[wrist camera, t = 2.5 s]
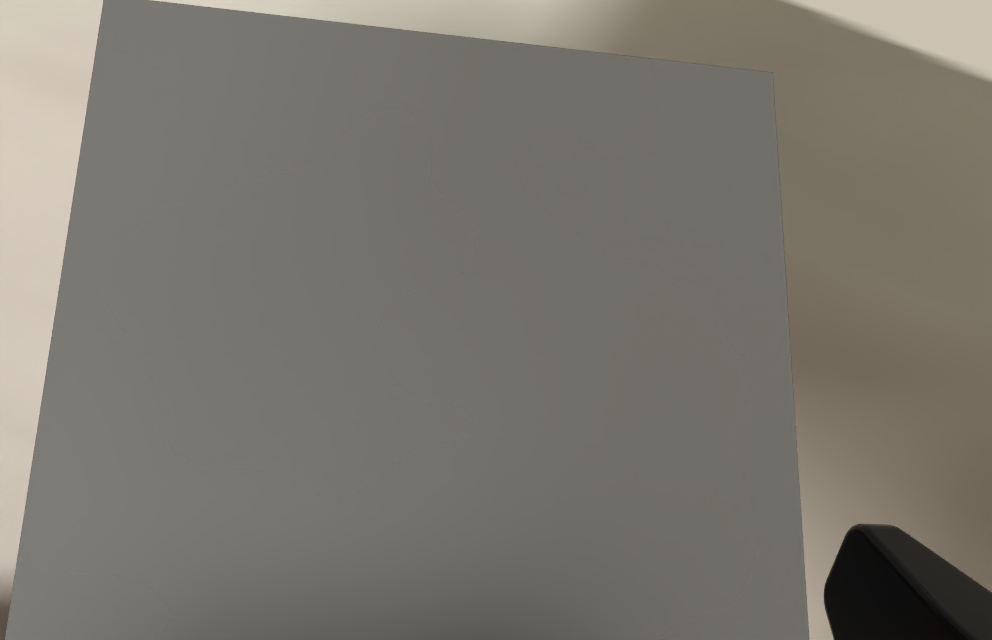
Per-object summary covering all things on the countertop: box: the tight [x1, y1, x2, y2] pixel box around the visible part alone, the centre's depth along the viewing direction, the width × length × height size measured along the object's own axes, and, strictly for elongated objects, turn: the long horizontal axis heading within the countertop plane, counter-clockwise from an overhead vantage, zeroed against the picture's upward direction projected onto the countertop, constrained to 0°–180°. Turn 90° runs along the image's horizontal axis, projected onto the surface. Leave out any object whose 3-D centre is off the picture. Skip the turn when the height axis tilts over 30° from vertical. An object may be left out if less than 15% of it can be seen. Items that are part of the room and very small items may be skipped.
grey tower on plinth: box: [5, 0, 809, 640], centre depth 11 cm, size 7×4×13 cm, turn 89°
